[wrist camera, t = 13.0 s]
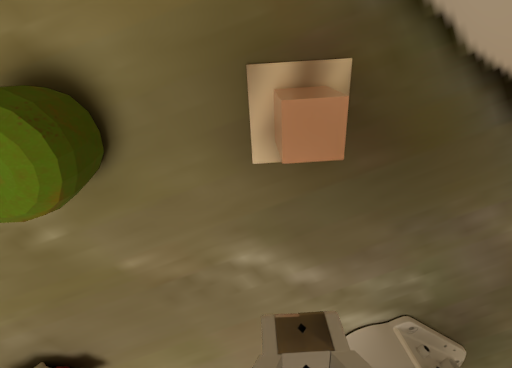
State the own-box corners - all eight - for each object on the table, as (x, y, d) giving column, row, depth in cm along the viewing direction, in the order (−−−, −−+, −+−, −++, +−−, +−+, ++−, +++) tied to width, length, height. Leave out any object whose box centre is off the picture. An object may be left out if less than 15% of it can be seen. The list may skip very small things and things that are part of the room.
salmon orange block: (326, 85, 27) (349, 96, 21) (323, 137, 29) (343, 159, 24) (273, 89, 27) (281, 100, 21) (274, 140, 29) (282, 163, 23)
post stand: (350, 58, 27) (378, 60, 21) (341, 156, 31) (363, 179, 25) (246, 64, 27) (246, 68, 21) (252, 161, 31) (254, 186, 25)
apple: (39, 53, 26) (-88, 56, 16) (134, 138, 29) (79, 182, 20) (-20, 132, 29) (-158, 175, 19) (73, 200, 32) (-1, 266, 23)
